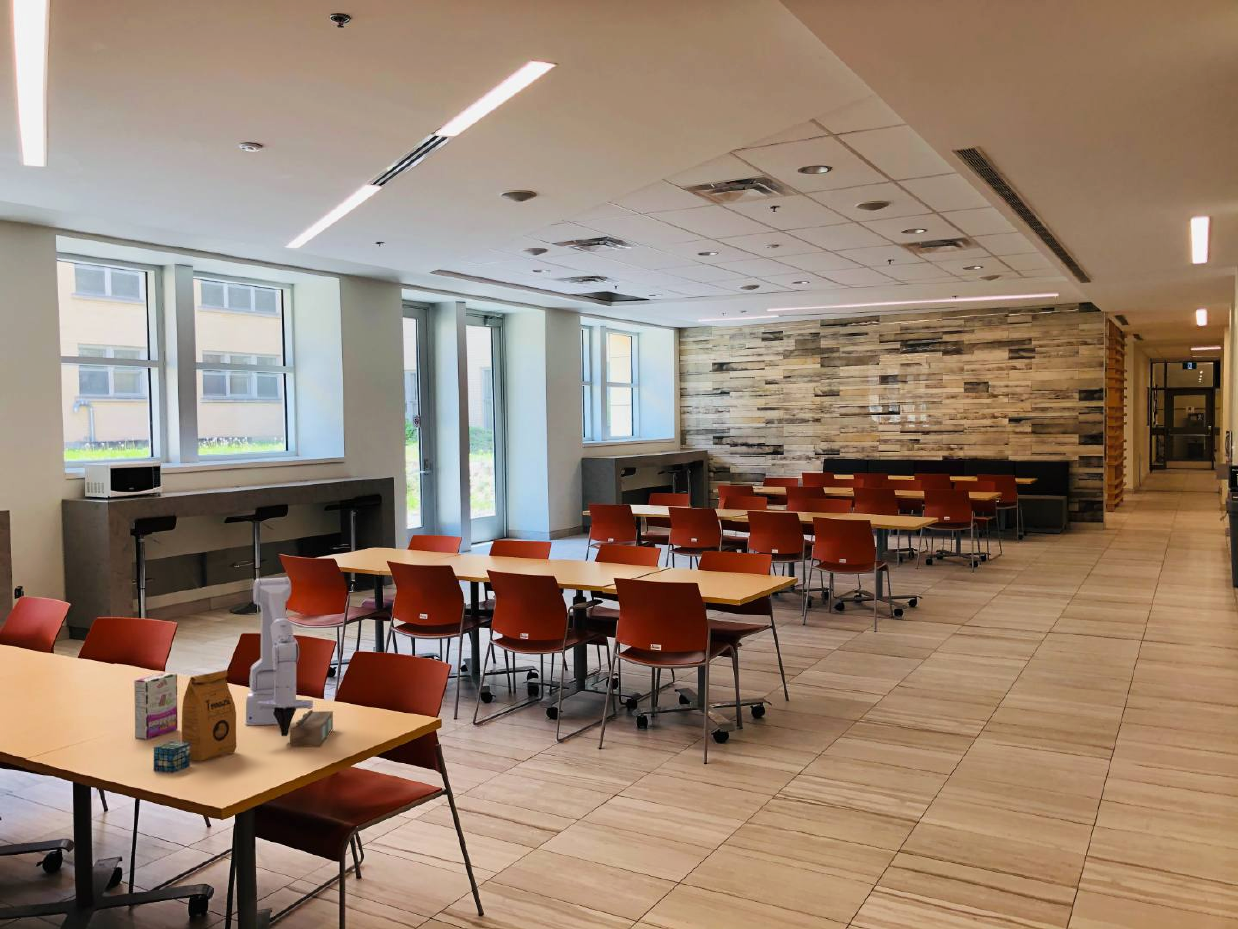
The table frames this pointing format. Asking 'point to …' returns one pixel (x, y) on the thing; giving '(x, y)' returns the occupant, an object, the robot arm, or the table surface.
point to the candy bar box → (155, 705)
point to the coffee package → (209, 717)
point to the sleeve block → (310, 729)
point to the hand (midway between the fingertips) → (284, 735)
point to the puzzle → (171, 757)
